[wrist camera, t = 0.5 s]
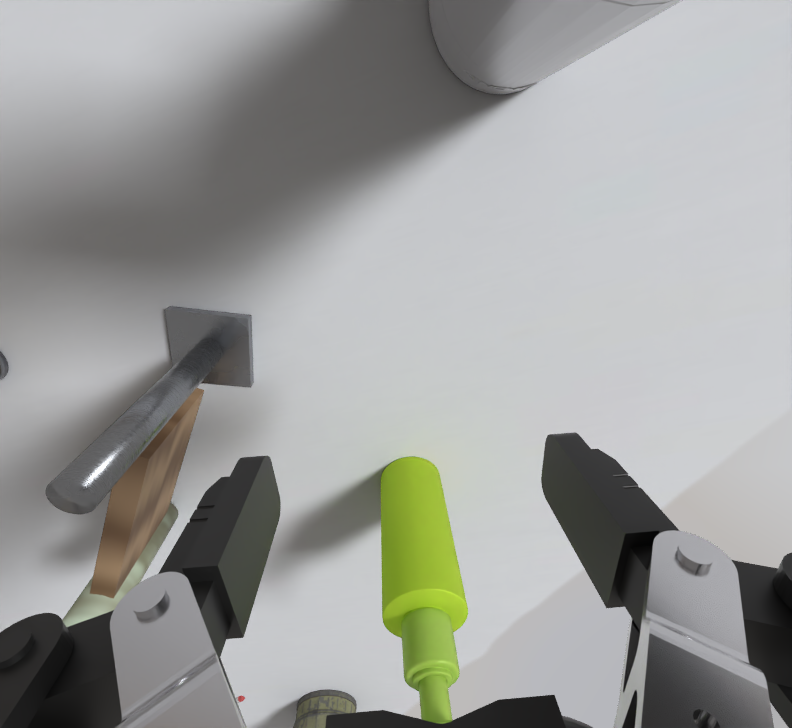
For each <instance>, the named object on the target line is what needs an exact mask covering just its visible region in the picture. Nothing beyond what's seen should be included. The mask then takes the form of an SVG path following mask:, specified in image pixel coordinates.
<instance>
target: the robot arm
mask: <svg viewBox="0 0 792 728" xmlns="http://www.w3.org/2000/svg"><path fill="white" fill-rule="evenodd" d="M681 1H682V0H429V17H430V22H431V28H432V33H433V36H434V39H435V42H436V44H437V47H438V50H439V52H440V54H441V56H442V57H443V59H444V61H445V62H446V64H447V65H448V67H449V69H450V70H451V71H452V72H453V73H454V74H455V75H456V76H457V77H458V78H459V79H460V80H461V81H463V82H464V83H466V84H467V85H469V86H471V87H472V88H474V89H476V90H479V91H482V92H485V93H489V94H509V93H513V92H518V91H521V90H523V89H525V88H528V87H530V86H532V85H535V84H536V83H538V82H539V81H541V80H543V79H545V78H546V77H548V76H550V75H552V74H554V73H555V72H557V71H559V70H561V69H563V68H565V67H566V66H568V65H570V64H572V63H573V62H575V61H577V60H579V59H580V58H582V57H584V56H586V55H587V54H589V53H591V52H593V51H595V50H596V49H598V48H600V47H602V46H603V45H605V44H607V43H609V42H610V41H612V40H614V39H616V38H617V37H619V36H621V35H623V34H624V33H626V32H628V31H630V30H631V29H633V28H635V27H637V26H638V25H640V24H642V23H644V22H645V21H647V20H649V19H651V18H653V17H654V16H656V15H658V14H660V13H661V12H663V11H665V10H667V9H668V8H670V7H672V6H674V5H675V4H677V3H679V2H681ZM541 481H542V488H543V492H544V495H545V498H546V500H547V502H548V504H549V505H550V507H551V509H552V511H553V513H554V514H555V516H556V518H557V520H558V522H559V523H560V525H561V527H562V529H563V530H564V532H565V534H566V536H567V538H568V539H569V541H570V543H571V545H572V547H573V548H574V550H575V552H576V554H577V556H578V557H579V559H580V561H581V563H582V565H583V566H584V568H585V570H586V572H587V574H588V575H589V577H590V579H591V581H592V583H593V584H594V586H595V588H596V590H597V591H598V593H599V595H600V597H601V599H602V600H603V602H604V604H605V606H606V608H613V607H623V606H625V607H626V609H627V610H628V612H629V614H630V615H631V621H630V624H629V630H628V637H627V644H626V652H625V659H624V667H623V674H622V681H621V689H620V696H619V703H618V709H617V714H616V718H615V723H614V728H774V726H773V719H772V713H771V706H770V702H771V703H772V705H773V706H774V708H775V709H776V711H777V712H778V713H779V714H780V716H781V717H782V719H783V720H784V722H785V723H786V724H787V726H788V727H789V728H792V553H789V554H787V555H786V556H785V557H784V558H783V560H782V562H781V564H780V566H779V568H778V569H777V568H771V567H766V566H760V565H755V564H749V563H744V562H738V561H734V560H731V559H730V558H729V557H728V556H727V555H726V554H725V553H724V552H723V551H722V550H721V549H720V548H718V547H717V546H715V545H714V544H713V543H711V542H709V541H708V540H706V539H703V538H702V537H699V536H696V535H694V534H691V533H687V532H682V531H679V530H678V529H677V528H676V526H675V525H674V524H673V523H672V522H671V521H670V520H669V519H668V518H667V516H666V515H665V514H664V513H663V512H662V511H661V510H660V509H659V508H658V506H657V505H656V504H655V503H654V502H653V501H652V500H651V499H650V498H649V496H648V495H647V494H646V493H645V492H644V491H643V490H642V489H641V488H639V487H638V484H637V483H636V482H635V481H634V480H633V479H632V478H631V477H630V476H628V473H627V472H626V471H625V470H624V469H623V468H622V467H621V465H620V464H619V463H618V462H617V461H616V460H615V459H613V458H612V457H610V456H608V455H607V454H605V453H604V452H602V451H600V450H599V449H590V447H589V446H588V445H587V444H586V443H585V441H584V440H583V439H582V438H581V437H580V436H579V435H578V434H577V433H564V434H551V435H548V436H547V438H546V443H545V451H544V460H543V468H542V477H541ZM279 517H280V496H279V492H278V488H277V483H276V479H275V475H274V471H273V466H272V462H271V459H270V457H269V456H257V457H244V458H240V459H239V460H238V462H237V464H236V466H235V468H234V470H233V472H232V474H231V475H230V477H221V478H220V479H219V480H218V481H217V482H216V483H215V484H213V485H212V486H211V487H210V488H209V489H208V490H207V491H206V492H205V494H204V496H203V497H202V499H201V501H200V503H199V504H198V506H197V510H195V511H194V513H193V515H192V516H191V518H190V523H187V525H186V527H185V529H184V530H183V532H182V534H181V536H180V537H179V539H178V541H177V542H176V544H175V546H174V548H173V549H172V551H171V553H170V555H169V556H168V558H167V560H166V561H165V563H164V565H163V567H162V568H161V570H160V572H159V573H158V574H157V575H154V576H152V577H150V578H148V579H146V580H144V581H142V582H141V583H139V584H138V585H136V586H135V587H134V588H132V589H131V590H130V591H129V592H128V593H127V594H126V595H125V596H124V597H123V598H122V599H121V600H120V602H119V603H118V604H117V606H116V608H115V609H114V610H113V611H110V612H108V613H105V614H102V615H99V616H97V617H94V618H91V619H88V620H85V621H83V622H80V623H77V624H74V625H71V626H69V627H66V625H65V624H64V622H63V621H62V619H61V618H60V617H59V616H58V615H56V614H52V613H42V614H37V615H34V616H31V617H28V618H25V619H23V620H21V621H19V622H17V623H15V624H13V625H11V626H10V627H8V628H6V629H5V630H3V631H2V632H1V633H0V728H247V727H246V725H245V722H244V719H243V717H242V714H241V711H240V709H239V706H238V703H237V701H236V698H235V695H234V693H233V690H232V687H231V685H230V682H229V679H228V677H227V674H226V672H225V669H224V666H223V664H222V661H221V658H220V656H221V653H222V650H223V647H224V644H225V641H226V639H231V638H243V637H244V634H245V630H246V627H247V624H248V620H249V617H250V614H251V611H252V607H253V604H254V601H255V597H256V594H257V591H258V587H259V584H260V581H261V577H262V574H263V571H264V567H265V564H266V561H267V558H268V554H269V551H270V548H271V544H272V541H273V538H274V534H275V531H276V528H277V524H278V521H279ZM325 728H592V727H591V726H589V725H587V724H585V723H582V722H580V721H577V720H574V719H572V718H569V717H565V716H562V715H561V712H560V710H559V707H558V704H557V701H556V698H555V696H554V695H548V696H536V697H526V698H514V699H503V700H497V701H495V702H493V703H491V704H489V705H486V706H484V707H482V708H480V709H477V710H475V711H473V712H471V713H468V714H466V715H464V716H462V717H460V718H457V719H455V720H453V721H451V722H448V723H443V724H440V723H434V722H430V721H426V720H422V719H418V718H413V717H409V716H405V715H401V714H397V713H392V712H388V711H384V710H380V711H369V712H357V713H346V714H335V715H327V716H326V726H325Z"/></svg>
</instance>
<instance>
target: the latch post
mask: <svg viewBox="0 0 792 728" xmlns="http://www.w3.org/2000/svg"><path fill="white" fill-rule="evenodd" d="M7 372H8V364H7V361H6V359H5V357H4V355H3V354H2V353H1V352H0V380H1V379H3V378H4V377H5V376H6V375H7Z"/></svg>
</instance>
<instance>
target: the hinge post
mask: <svg viewBox="0 0 792 728" xmlns="http://www.w3.org/2000/svg"><path fill="white" fill-rule="evenodd" d="M165 315H166V322H167V329H168V336H169V344H170V351H171V358H172V366H173V367H172V368H171V369H170V370H169V371H168V372H167V373H166V374H165V375H164V376H163V377H162V378H161V379H160V380H159V381H157V382H156V383H155V384H154V385H153V386H152V387H151V388H150V389H149V390H148V391H147V392H146V393H145V394H144V395H143V396H142V397H141V398H140V399H138V400H137V401H136V402H135V403H134V404H133V405H132V406H131V407H130V408H129V409H128V410H127V411H126V412H125V413H124V414H123V415H122V416H121V417H119V418H118V419H117V420H116V421H115V422H114V423H113V424H112V425H111V426H110V427H109V428H108V429H107V430H106V431H105V432H104V433H103V434H102V435H100V436H99V437H98V438H97V439H96V440H95V441H94V442H93V443H92V444H91V445H90V446H89V447H88V448H87V449H86V450H85V451H84V452H83V453H81V454H80V455H79V456H78V457H77V458H76V459H75V460H74V461H73V462H72V463H71V464H70V465H69V466H68V467H67V468H66V469H65V470H64V471H62V472H61V473H60V474H59V475H58V476H57V477H56V478H55V479H54V480H53V481H52V482H51V483H50V484H49V485H48V486H47V488H46V496H47V498H48V500H49V501H50V502H51V503H52V504H53V505H54V506H55V507H57V508H58V509H60V510H62V511H65V512H68V513H72V514H86V513H89V512H91V511H93V510H94V509H95V508H96V507H97V505H98V504H99V503H100V502H101V501H102V499H103V498H104V497H105V496H106V495H107V493H108V492H109V491H110V490H111V489H112V488H113V486H114V485H115V484H116V483H117V482H118V480H119V479H120V478H121V477H122V476H123V474H124V473H125V472H126V471H127V470H128V469H129V467H130V466H131V465H132V464H133V463H134V461H135V460H136V459H137V458H138V457H139V455H140V454H141V453H142V452H143V451H144V450H145V448H146V447H147V446H148V445H149V444H150V442H151V441H152V440H153V439H154V438H155V436H156V435H157V434H158V433H159V432H160V431H161V429H162V428H163V427H164V426H165V425H166V423H167V422H168V421H169V420H170V419H171V417H172V416H173V415H174V414H175V413H176V412H177V410H178V409H179V408H180V407H181V406H182V404H183V403H184V402H185V401H186V400H187V398H188V397H189V396H190V395H191V394H192V393H193V391H194V390H195V389H196V388H197V387H198V385H199V384H200V383H210V384H221V385H232V386H243V387H251V386H252V384H253V383H254V381H253V352H252V322H251V315H245V314H236V313H227V312H218V311H208V310H199V309H190V308H181V307H171V306H170V307H168V308H167V309H165Z"/></svg>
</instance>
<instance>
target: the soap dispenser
mask: <svg viewBox="0 0 792 728" xmlns="http://www.w3.org/2000/svg"><path fill="white" fill-rule="evenodd" d="M381 545H382V617H383V623H384V625H385V627H386V628H387V629H388V630H389V631H390V632H391V633H393V634H394V635H396V636H398V637H401V638H402V648H403V666H404V678H405V681H406V683H407V684H408V685H409V686H410V687H412V688H414V689H416V690H417V691H419V694H420V706H421V718H422V720H426V721H430V722H434V723H440V724H443V723H448V722H451V721H452V715H451V707H450V700H449V693H448V688H449V687H450V686H451V685H452V684H454V683H455V682H456V680H457V679H458V677H459V665H458V659H457V653H456V647H455V641H454V635H453V632H455V631H456V630H457V629H459V628H460V627H461V626H462V625H463V624H464V622H465V620H466V618H467V615H468V608H467V603H466V598H465V593H464V589H463V584H462V579H461V574H460V570H459V565H458V560H457V555H456V551H455V546H454V541H453V536H452V532H451V527H450V522H449V517H448V513H447V508H446V503H445V498H444V494H443V489H442V484H441V479H440V475H439V472H438V469H437V468H436V467H435V465H434V464H432V463H431V462H430V461H428V460H426V459H423V458H419V457H405V458H401V459H398V460H396V461H394V462H392V463H391V464H389V465H388V466H387V467H386V468H385V470H384V471H383V473H382V476H381Z"/></svg>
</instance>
